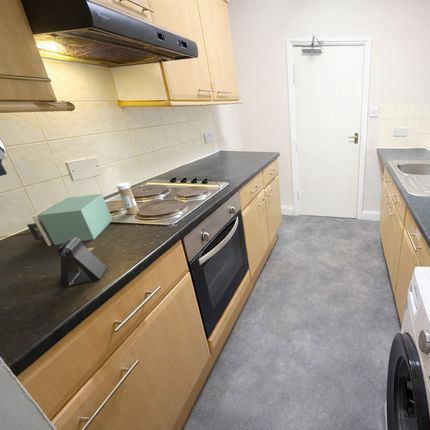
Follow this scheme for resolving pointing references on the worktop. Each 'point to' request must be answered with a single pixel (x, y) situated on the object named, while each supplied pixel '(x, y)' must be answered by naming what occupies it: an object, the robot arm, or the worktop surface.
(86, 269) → the phone stand
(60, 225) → the teal rectangular block
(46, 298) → the worktop surface
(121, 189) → the sprinkles bottle
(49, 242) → the door
